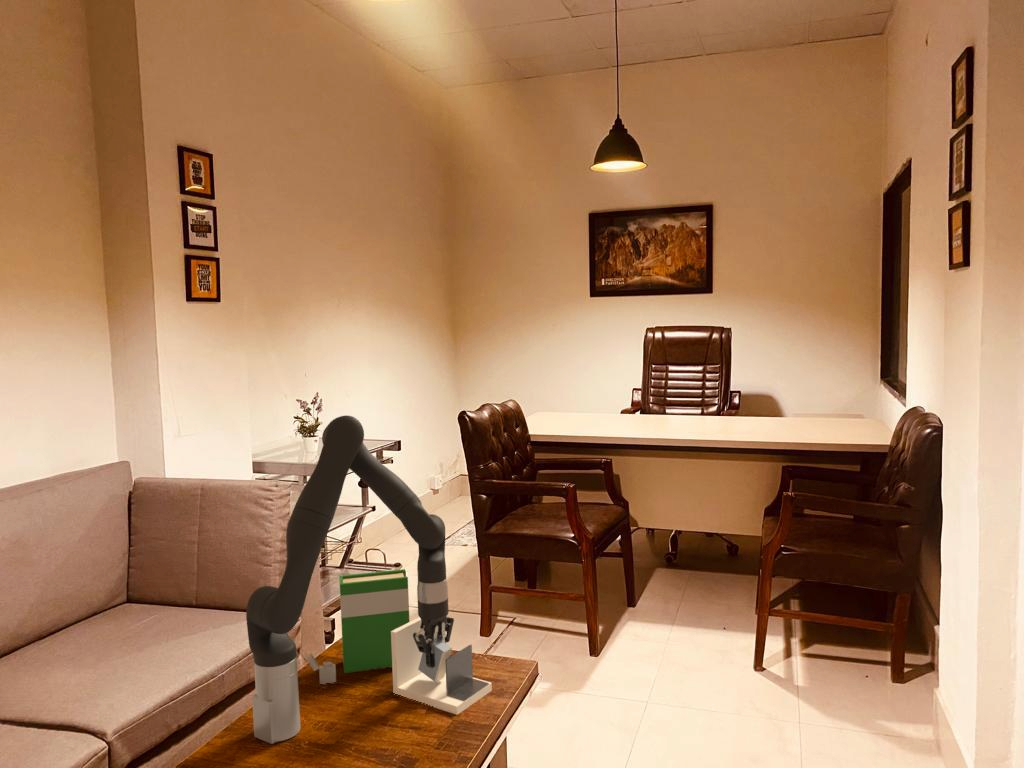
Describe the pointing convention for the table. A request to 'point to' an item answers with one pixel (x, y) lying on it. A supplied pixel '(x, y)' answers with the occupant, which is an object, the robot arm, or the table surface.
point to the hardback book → (371, 617)
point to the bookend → (461, 675)
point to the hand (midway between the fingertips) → (435, 663)
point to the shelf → (414, 681)
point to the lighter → (323, 670)
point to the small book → (436, 661)
